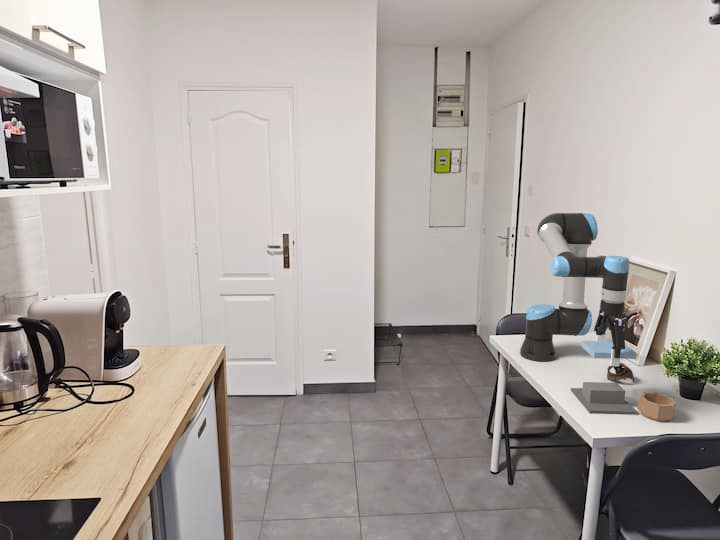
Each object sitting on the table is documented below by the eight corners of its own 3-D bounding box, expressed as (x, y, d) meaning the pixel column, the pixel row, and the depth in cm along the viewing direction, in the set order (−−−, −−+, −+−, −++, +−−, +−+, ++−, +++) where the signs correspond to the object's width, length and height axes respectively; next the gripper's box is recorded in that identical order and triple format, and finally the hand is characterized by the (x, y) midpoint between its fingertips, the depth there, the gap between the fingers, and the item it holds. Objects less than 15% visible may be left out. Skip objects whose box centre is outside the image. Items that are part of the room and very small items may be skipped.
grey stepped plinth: (570, 390, 185) (572, 375, 184) (613, 391, 184) (615, 376, 183) (589, 413, 167) (591, 397, 166) (637, 414, 166) (639, 398, 165)
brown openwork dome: (639, 387, 189) (632, 371, 186) (614, 394, 192) (607, 379, 189) (629, 368, 199) (623, 353, 197) (606, 375, 203) (599, 360, 200)
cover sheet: (580, 345, 178) (581, 340, 178) (619, 346, 177) (620, 341, 177) (594, 358, 167) (594, 352, 166) (635, 358, 166) (636, 353, 165)
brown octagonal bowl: (633, 407, 171) (635, 391, 170) (662, 408, 171) (664, 392, 169) (648, 421, 161) (650, 405, 160) (679, 422, 161) (681, 406, 160)
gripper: (587, 291, 180) (582, 346, 185) (617, 310, 157) (610, 372, 161) (608, 291, 180) (602, 346, 184) (641, 310, 156) (634, 373, 161)
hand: (606, 358), depth 173 cm, fingers closed on cover sheet, 12 cm apart
